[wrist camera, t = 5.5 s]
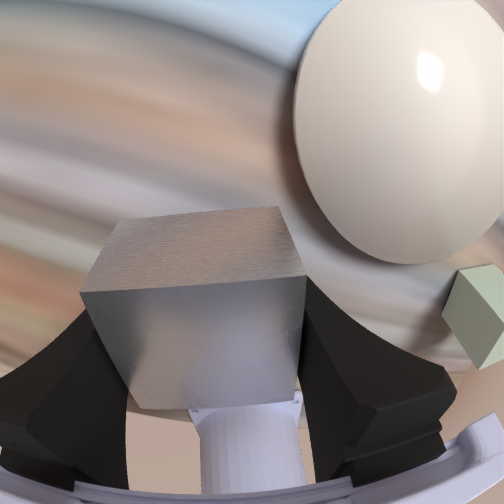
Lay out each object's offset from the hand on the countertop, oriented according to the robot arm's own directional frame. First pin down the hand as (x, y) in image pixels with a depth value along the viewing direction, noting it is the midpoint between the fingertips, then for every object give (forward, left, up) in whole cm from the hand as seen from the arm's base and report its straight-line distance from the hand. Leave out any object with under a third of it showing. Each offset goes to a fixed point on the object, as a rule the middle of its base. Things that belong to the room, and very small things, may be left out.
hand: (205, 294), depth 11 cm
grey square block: (0, 0, -1) cm, 1 cm away
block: (-4, -16, -2) cm, 17 cm away
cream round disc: (+6, -10, -2) cm, 12 cm away
